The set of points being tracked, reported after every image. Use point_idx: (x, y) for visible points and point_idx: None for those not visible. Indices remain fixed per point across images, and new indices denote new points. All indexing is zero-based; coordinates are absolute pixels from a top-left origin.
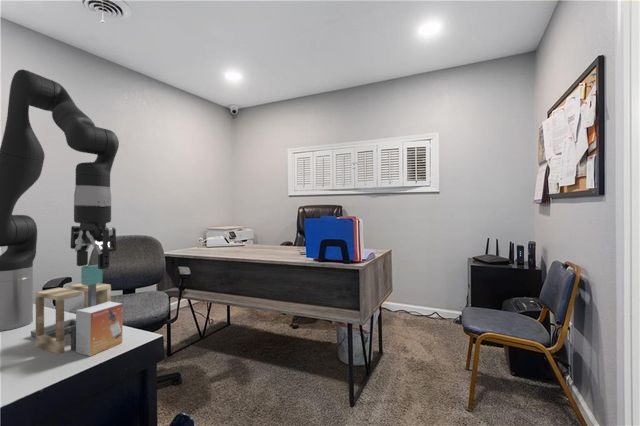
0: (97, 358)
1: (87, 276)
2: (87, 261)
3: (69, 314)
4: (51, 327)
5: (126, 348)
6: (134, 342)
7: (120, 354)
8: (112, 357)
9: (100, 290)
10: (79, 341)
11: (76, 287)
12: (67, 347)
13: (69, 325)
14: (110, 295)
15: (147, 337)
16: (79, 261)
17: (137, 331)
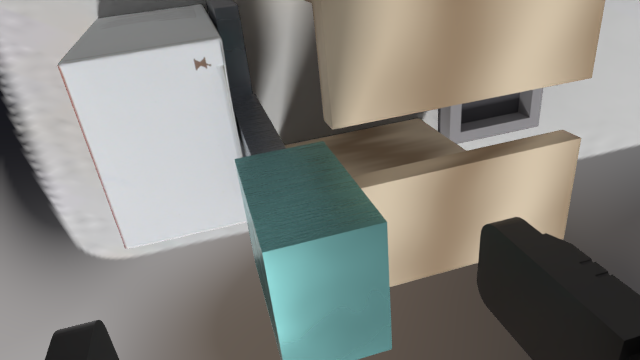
0: (50, 29)
1: (246, 196)
2: (500, 319)
3: (624, 145)
4: None
5: (60, 140)
6: None
7: (10, 101)
8: (4, 70)
9: None
10: (170, 13)
11: (500, 152)
12: (294, 8)
13: (510, 100)
14: None
15: (111, 231)
16: (519, 259)
17: (215, 231)
